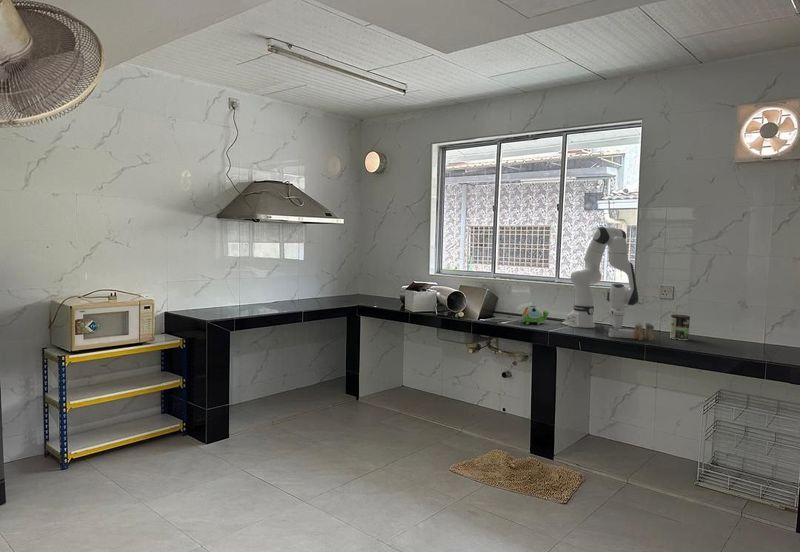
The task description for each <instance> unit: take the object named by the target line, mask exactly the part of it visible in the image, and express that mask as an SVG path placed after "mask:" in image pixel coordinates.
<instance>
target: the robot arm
mask: <svg viewBox="0 0 800 552" xmlns="http://www.w3.org/2000/svg"><path fill="white" fill-rule="evenodd" d="M607 246H608V257H607V258H608V263H609V264H610V266H612V268H614V269H616V270H618V271H621V272H623V273H625V274H626V275H627V279H628V287H629V288H625V285H624V284H621V283H612V284H611V285H610V288H609V289H608V290H607V291H606V301H607V302H609V303H608V314H609V315H610V316H609V323H610V324H611V325H612V327H611V328H612V329H615V332H614V333H615V334H618V330H619V329H623V323H624V316H625V314H626V313H625V305H629V306H635V305H636V304H637V303H639V299H640V295H639V291H638V288H637V280H636V274H635V273H636V272H635V268H634V265H633V263H632V262H630V260H629V257H628V244H627V233H626V231H624V230H623V229H621V228H616V227H612V226H609V227H607V226H598V227H595V228H594V230H593V232H592V236H591V238H590V239H589V241H588V243H587V247H586V249H585V252H584V256H583V261H584V268H578V269H575V270H573V271H572V272H571V274H570V281H571V283H572V284H573V285H574V288H575V294H576V296H575V297H576V298H575V299H576V300H575V304H574V305H573V309H572V310H571V311H570V312H569V313H568V314H566V316H565V320H564V321H562V322H561V324H562V325H564V326H565V325H566V326H569V327H572V328H585V329H586V328H589V329H591V328H595V325H596V324H595V321H594V311H595V306H594V297H595V295H594V293H593V292H592V289H591V285H596V284H597V283H600V282H601V279H602V274H601V273H602V272H600V270H601V262H602V259H603V255H604V253H605V250H606V247H607Z"/></svg>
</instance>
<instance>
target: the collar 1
mask: <svg viewBox="0 0 800 552" xmlns="http://www.w3.org/2000/svg"><path fill="white" fill-rule="evenodd" d="M634 326H635V327H634V330H639V331H638V339H637V340H639V341H643V336H644V335H643V333H644V325H643V324H641V323H640V322H635V325H634Z"/></svg>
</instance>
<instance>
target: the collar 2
mask: <svg viewBox="0 0 800 552" xmlns="http://www.w3.org/2000/svg"><path fill="white" fill-rule="evenodd" d="M654 331H655V326H654V325H652V324H651V323H649V322H648V323H647V322H646V323H645V332H644V333H645V335H644V337H645V338H646V339H647V338H648V341H654Z"/></svg>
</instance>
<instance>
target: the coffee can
mask: <svg viewBox="0 0 800 552" xmlns="http://www.w3.org/2000/svg"><path fill="white" fill-rule="evenodd" d="M690 320H691V316H690V315H685V314H671V316H670V328H669V330H670V331H669V334H670V335H669V339H671V338H672V339H671V340H676V339H678V340H677V341H689V340H688V339H690V337H689V335H690Z"/></svg>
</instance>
